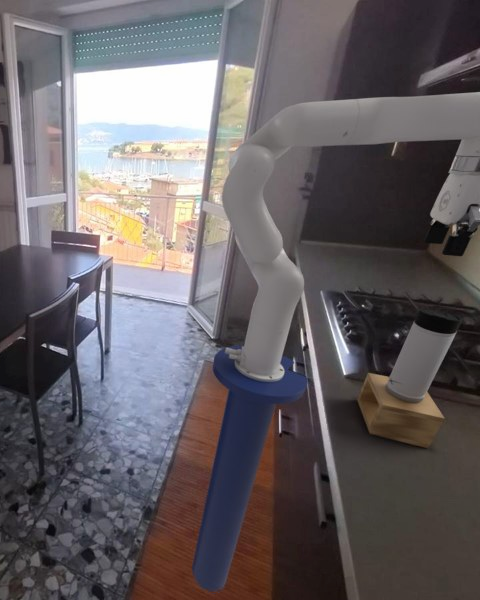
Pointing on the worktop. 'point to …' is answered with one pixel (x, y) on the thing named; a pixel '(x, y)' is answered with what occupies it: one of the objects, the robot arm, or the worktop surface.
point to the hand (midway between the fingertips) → (441, 248)
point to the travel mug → (422, 354)
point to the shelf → (398, 414)
